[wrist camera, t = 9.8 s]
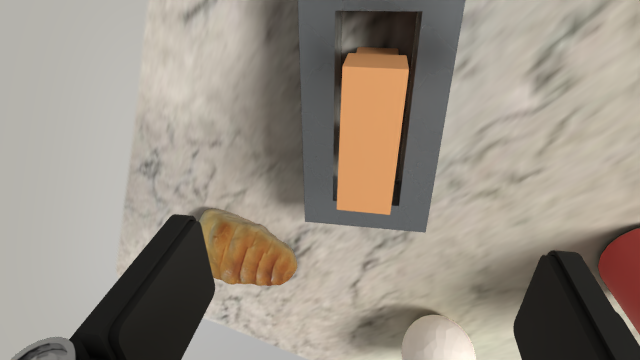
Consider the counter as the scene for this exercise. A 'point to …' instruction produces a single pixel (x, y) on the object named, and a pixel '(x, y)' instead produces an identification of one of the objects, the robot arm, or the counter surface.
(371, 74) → the tall orange stepped block
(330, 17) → the gray rectangular frame
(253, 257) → the pastry
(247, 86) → the counter surface
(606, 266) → the beer can
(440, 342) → the egg
